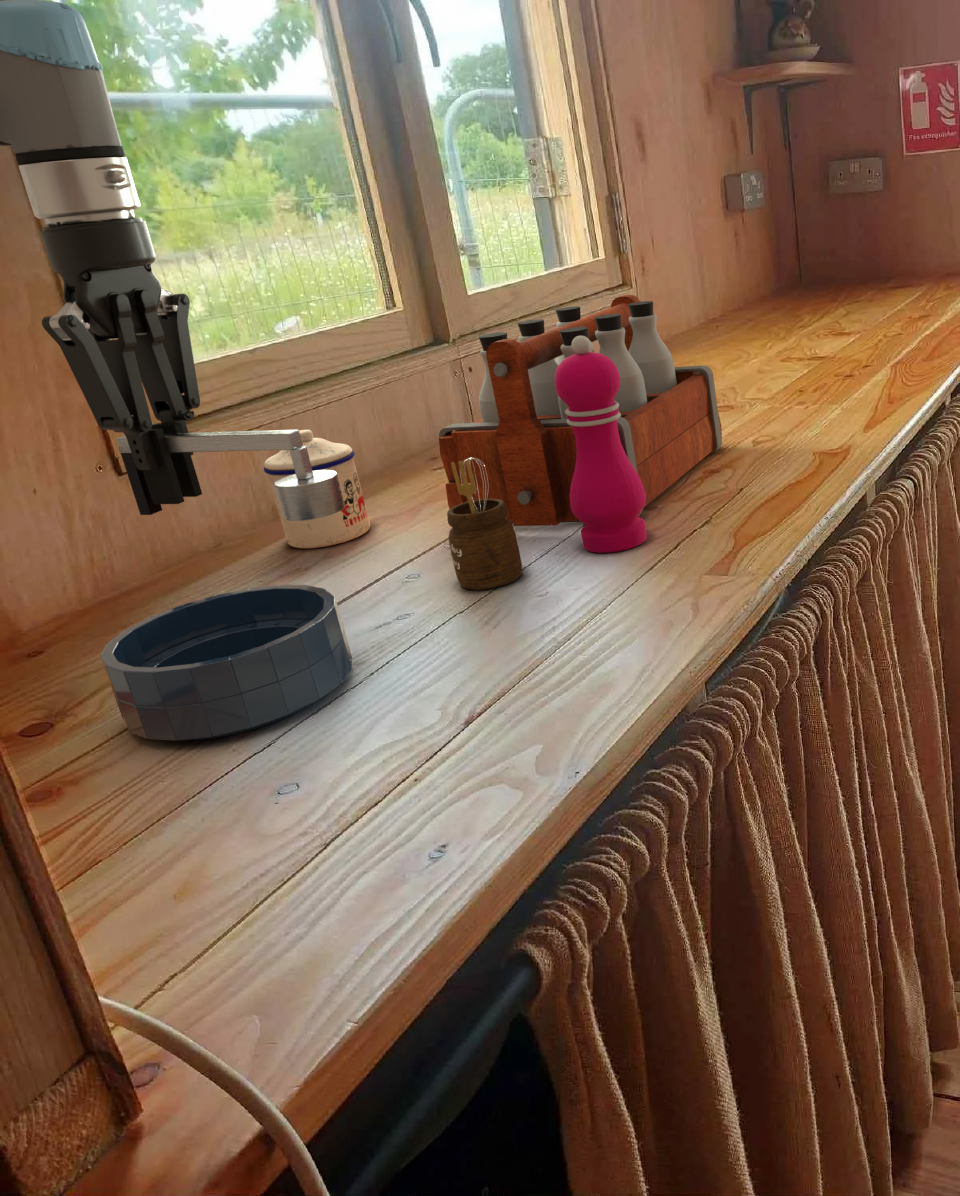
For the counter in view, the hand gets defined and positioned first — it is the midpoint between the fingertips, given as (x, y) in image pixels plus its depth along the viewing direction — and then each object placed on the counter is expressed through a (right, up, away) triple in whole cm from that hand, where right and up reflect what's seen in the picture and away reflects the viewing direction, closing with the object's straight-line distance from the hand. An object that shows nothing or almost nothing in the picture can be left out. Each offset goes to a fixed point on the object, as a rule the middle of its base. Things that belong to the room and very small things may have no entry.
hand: (177, 498), depth 99 cm
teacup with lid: (+3, -2, +25) cm, 25 cm away
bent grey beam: (+6, -1, -1) cm, 6 cm away
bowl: (+13, -16, -15) cm, 26 cm away
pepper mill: (+37, -3, +11) cm, 39 cm away
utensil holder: (+26, -7, +4) cm, 28 cm away
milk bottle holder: (+32, +4, +32) cm, 45 cm away
